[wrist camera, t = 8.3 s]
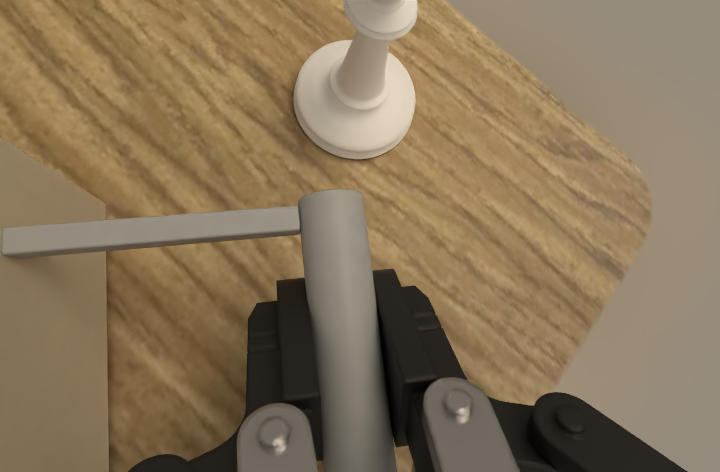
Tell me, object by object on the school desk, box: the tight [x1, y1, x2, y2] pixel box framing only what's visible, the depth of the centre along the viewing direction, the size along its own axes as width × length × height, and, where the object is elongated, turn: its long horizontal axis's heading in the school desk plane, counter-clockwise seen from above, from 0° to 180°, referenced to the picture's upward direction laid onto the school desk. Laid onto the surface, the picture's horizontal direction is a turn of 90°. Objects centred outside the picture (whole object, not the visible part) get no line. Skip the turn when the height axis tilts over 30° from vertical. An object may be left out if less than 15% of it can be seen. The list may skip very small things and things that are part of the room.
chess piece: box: [293, 0, 417, 159], centre depth 13 cm, size 5×5×10 cm
